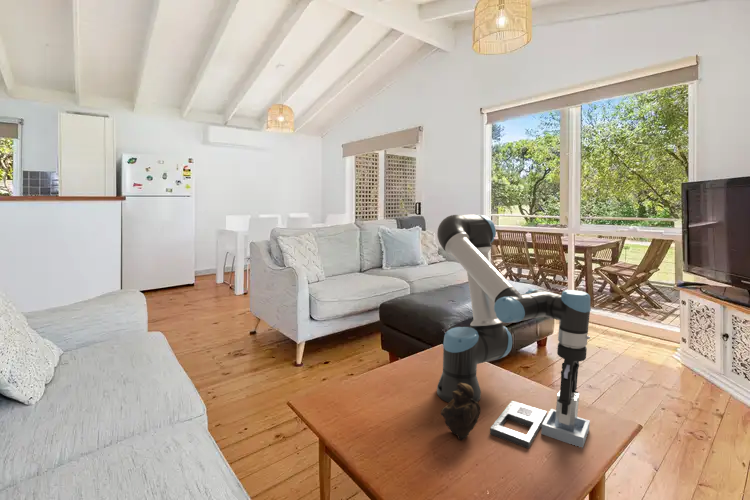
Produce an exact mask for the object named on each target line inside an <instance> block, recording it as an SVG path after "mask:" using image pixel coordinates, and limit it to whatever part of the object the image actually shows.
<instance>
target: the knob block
mask: <svg viewBox="0 0 750 500" xmlns="http://www.w3.org/2000/svg"><path fill="white" fill-rule="evenodd" d="M559 398H560V390H559V391H558V393H557V394H556V405H555V406H556V407H555V410H556V418H555V427H557V428H560V429H563V430H566V431H569V432H572V433H574V430H575V428H576V425H577V417H578V413H579V402H580V401H579V400H580V393H579V392H578V393H575V392H572V393H571V401H570V402H571V412H570V424H569V425H566V424H563V423H560V422H559V414H560V403H559V402H558V399H559Z"/></svg>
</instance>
